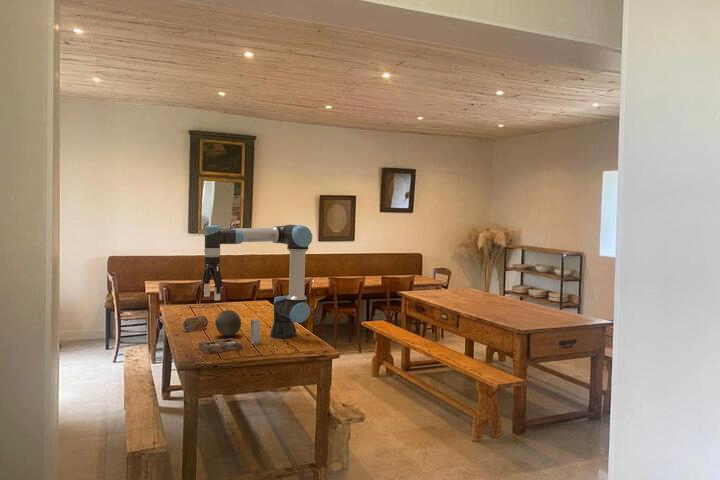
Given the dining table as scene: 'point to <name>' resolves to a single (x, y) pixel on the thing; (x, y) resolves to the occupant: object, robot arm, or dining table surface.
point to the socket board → (220, 345)
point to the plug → (255, 331)
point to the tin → (195, 323)
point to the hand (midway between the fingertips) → (212, 298)
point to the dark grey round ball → (228, 323)
